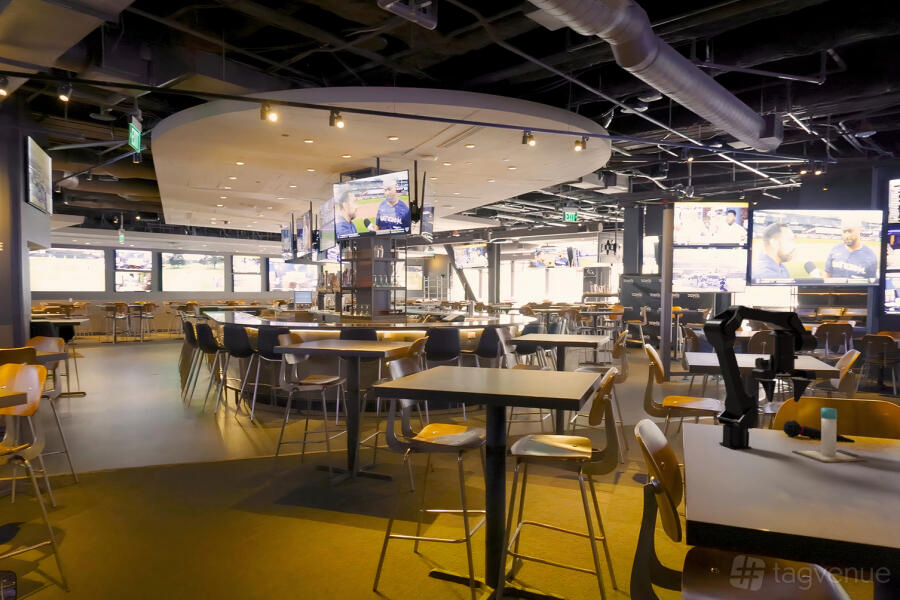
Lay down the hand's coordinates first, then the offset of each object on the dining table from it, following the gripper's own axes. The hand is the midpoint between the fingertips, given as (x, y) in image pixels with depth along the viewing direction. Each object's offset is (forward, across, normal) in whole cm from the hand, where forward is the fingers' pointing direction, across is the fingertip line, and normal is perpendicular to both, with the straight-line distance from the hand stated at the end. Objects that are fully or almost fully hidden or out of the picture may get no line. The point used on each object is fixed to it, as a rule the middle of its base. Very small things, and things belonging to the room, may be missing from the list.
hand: (783, 402), depth 176 cm
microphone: (+14, -18, -5) cm, 23 cm away
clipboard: (+13, -2, +15) cm, 20 cm away
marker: (+12, -2, +15) cm, 20 cm away
